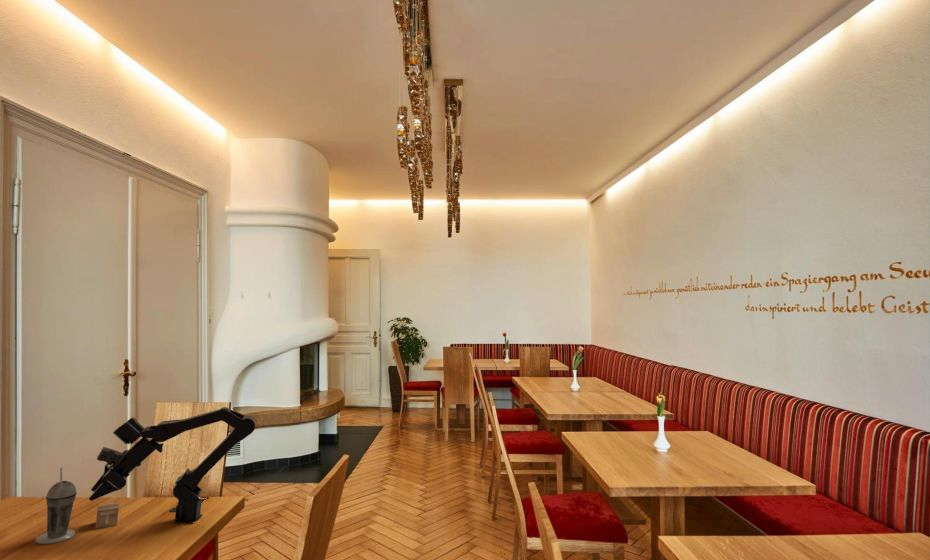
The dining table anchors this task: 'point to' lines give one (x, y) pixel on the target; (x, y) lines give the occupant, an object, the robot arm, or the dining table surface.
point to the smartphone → (177, 505)
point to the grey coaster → (44, 540)
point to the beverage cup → (59, 507)
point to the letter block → (107, 515)
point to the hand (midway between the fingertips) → (91, 495)
